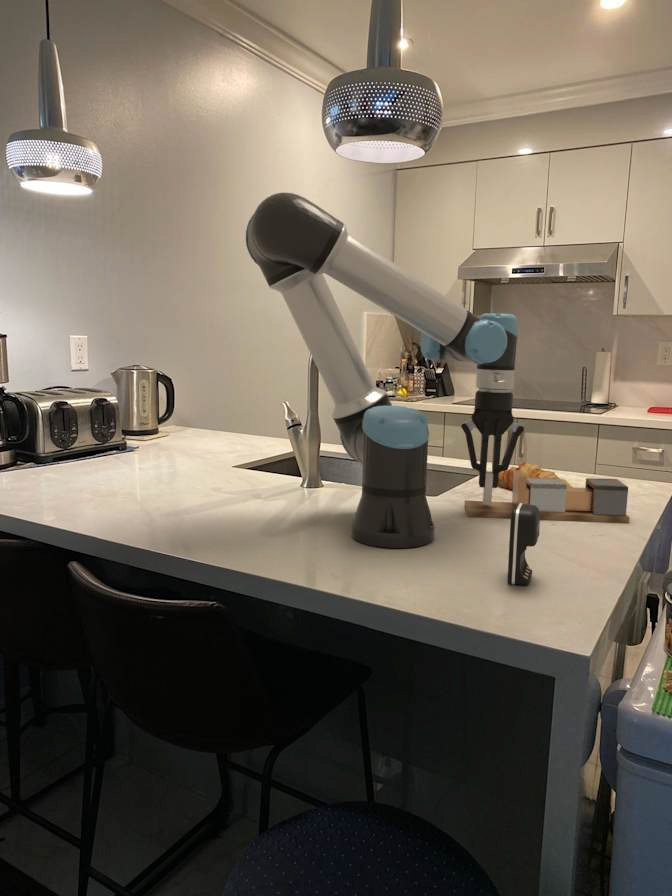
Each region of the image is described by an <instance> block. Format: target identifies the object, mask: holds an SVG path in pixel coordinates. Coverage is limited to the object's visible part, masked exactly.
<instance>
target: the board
mask: <svg viewBox="0 0 672 896" xmlns="http://www.w3.org/2000/svg"><path fill="white" fill-rule="evenodd" d="M513 508H514V504H513V503H512V501H491V504H484V503H483V500H464V509H465V511H466V515H467V517H470V518H471V517H472V518H495V519H511V514H512V510H513ZM543 520H544V521H546V520H547V521H565V522H566V521H567V522H594V523H595V522H596V523H616V524H617V523H619V524H629V523H630V516H629V515H628V514H626V516H607V515H593V514H592V511H571V510H565V513H545V512H540V521H543Z"/></svg>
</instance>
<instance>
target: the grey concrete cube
mask: <svg viewBox="0 0 672 896" xmlns="http://www.w3.org/2000/svg"><path fill="white" fill-rule="evenodd" d="M561 479H562V478H560V479H553V478H526V486H530V502H529V505H535V506H537V508H538V509H539V512H545V513H565V504H566V489H567V485H566V484H565V483H564V482H563V481H562V480H561Z"/></svg>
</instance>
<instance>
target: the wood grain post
mask: <svg viewBox="0 0 672 896" xmlns="http://www.w3.org/2000/svg"><path fill="white" fill-rule="evenodd" d="M593 494H594V488H585V487H576V486H575V487H574V486H572V487H567V489H566V504H565V510H571V511H592V507H593ZM511 497H512V499H511V502H512V503H513V504H514V506H515V504H517V503H519V504H520V503H523V504H529V502H530V486H526V476H525V475H524V473H523V472H522V471H521V470H514V477H513V490H512V496H511Z"/></svg>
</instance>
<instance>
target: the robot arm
mask: <svg viewBox="0 0 672 896" xmlns="http://www.w3.org/2000/svg"><path fill="white" fill-rule="evenodd" d="M245 243H246V244H245V246H246V250H247V251H248V254H249V256H250V258H251V259H252V260H253V261H254V263H255V264H257V266H258V267H259V268H260V271H261V274H262V275H263V277H264V278H265V280H266V283H267V285H268V287H269V289H270V290H271V289H272V290H275V291H276V292H279V293H280V294H281V295H282V297H283V299H284V301H285V303H286V306H287V308H288V310H289V312H290V313H291V316H292V318H293V320H294V322H295V325H296V327H297V328H298V331H299V333H300V334H301V336H302V338H303V340H304V344H305V345H306V348H307V349H308V351H309V353H310V355H311V358H312V360H313V362H314V364H315V366H316V367H317V370H318V372H319V374H320V377H321V378H322V380H323V382H324V384H325V387H326V388H327V391H328V393H329V395H330V398H331V399H332V401H333V403H334V408H333V412H332V414H331V415H332V419H333V421H334V423H335V425H336V427H337V429H338V431H339V437H340V442H341V444H342V447H343V449H344V450H345V451H346V453H347V454H348V456H349V457H350V458H351V459H353V460H355V461H356V462H358V463H360V464H361V465H362V469H361V470H362V473H361V474H362V477H361V484H362V485H361V496H360V500H359V501H358V506H357V509H356V510H355V511H356V512H355V516H354V518H353V520H352V523H351V537H352V539H354V540H356V541H357V542H359V543H361V544H365V545H368V546H373V547H379V548H387V549H406V548H408V549H409V548H417V547H421V546H425V545H428V544H430V543H431V542H433V541H434V539H435V524H434V521H433V518H432V513H431V510H430V506H429V504H428V499H427V476H428V448H429V446H428V445H429V438H430V431H429V420H428V417H427V416H426V414H425V413H424V412H422V411H420V410H418V409H416V408H412V407H406V406H401V405H392V402H391V399H390V398H389V395H388V393H387V392H386V390H385V389H382V388H380V387H377V386H376V385H375V384H374V382H373V380H372V377H371V375H370V373H369V371H368V369H367V367H366V364H365V363H364V360H363V358H362V356H361V353H360V352H359V349H358V347H357V344H356V342H355V341H354V338H353V336H352V335H351V333H350V330H349V327H348V326H347V323H346V322H345V321H346V320H345V319H344V317H343V314H342V312H341V310H340V308H339V306H338V304H337V302H336V300H335V298H334V296H333V293H332V290H331V289H330V287H329V285H328V283H327V280H326V278H325V276H324V274H325V275H327V276H329V277H330V278H332V279H334V280H336V281H337V282H339V283H340V284H342V285H344V286H345V287H347V288H348V289H350V290H352V291H353V292H355V293H357V294H358V295H360V296H362V297H363V298H365V299H366V300H368V301H370V302H372V303H373V304H375V305H377V306H378V307H379V308H381V309H383V310H385V311H386V312H388V313H390V314H391V315H392V316H394V317H396V318H397V319H400V320H401V321H403V322H404V323H406V324H408V325H410V327H413V328H414V329H415V330H418V331H419V332H420V333H421V334H420V340H419V341H420V343H419V345H420V352H421V355H422V356H423V357H424V359H427V360H432V361H433V360H434V361H438V362H439V361H452V362H453V361H454V362H466V363H473V364H476V377H475V378H476V379H475V387H476V388H477V391H476V392H475V396H474V408H473V409H474V410H473V413H472V414H471V418H469V420H467V421H463V422H461V423H460V426H461V429H462V431H463V432H464V434H465V439H466V444H467V445H466V446H467V450H468V455H469V461H470V465H471V468H472V469H473V470H476V471H478V474H479V476H478V485H479V488H483V491H482V492H483V493H482V501H483V503H484V504H491V502H493V499H492V498H493V489H497V488H498V486H499V484H498V475H499V473H500V472H501V471H506V470H509V468H510V464H511V461H512V458H513V455H514V453H515V448H516V446H517V442H518V439H519V437H520V436H521V435H522V433H523V432H524V430H525V427H524V426H523V425H522V424H519V423H517V422H516V421H515V420H514V419H515V418H514V415H513V399H514V394H513V392H512V390H513V389H514V385H515V384H514V383H515V369H516V353H517V345H518V344H517V342H518V338H519V336H518V334H519V333H518V330H519V329H518V326H519V325H518V318H517V316H516V315H515V314H512V313H511V314H510V313H482V314H481V315H480V317H479V316H478V315H476V314H474V313H473V312H471V311H469V310H468V309H466V308H465V307H463V306H462V305H460V304H458V303H457V302H456V301H454V300H452V299H451V298H449V297H447V296H446V295H444V294H443V293H442V292H440V291H438V290H437V289H435V288H433V287H432V286H430V285H428V283H426V282H424V281H423V280H421V279H420V278H418V277H416V276H415V275H413V274H412V273H410V272H408V271H407V270H406V269H404V268H402V267H401V266H399V265H398V264H397V263H395V262H393V261H392V260H389V258H387V257H385V256H383V255H382V254H380V253H379V252H377V250H374V249H373V248H371V247H370V246H368V245H366V244H365V243H364V242H362V241H360V240H359V239H357V238H356V237H354V236H352V235H351V234H349V233H348V230H347V225H346V223H344V222H342V221H341V220H340V219H338V218H336V217H334V216H333V215H332V214H330V213H329V212H327V211H325V209H323V208H322V207H320V206H319V205H316V204H315V203H314V202H313V201H310V200H309V199H307V198H306V197H303V196H302V195H300V194H296V193H293V192H278V193H274V194H271V195H270V196H268V197H266V198H265V199H263V200H262V201H261V202H260V203H259V204H258V205H257V207H256V209H255V211H254V213H253V214H252V216H251V217H250V219H249V220H248V223H247V226H246V230H245ZM473 425H475V427H476V428H477V430H478V432H479V433H480V435H481V437H480V456H479V463H478V460H477V455H476V451H475V450H476V449H475V445H474V439H473V434H472V431H473V429H474V426H473ZM510 427H511V428H510ZM509 428H510V432H511V434H510V437H509V440H508V442H507V446H506V449H505V451H504V455H503V458H502V461H501V450H502V448H501V447H502V446H501V445H502V437H503V435H504V434H505V433H506V431H507V430H508V429H509ZM490 436H493V445H492V447H493V449H492V463H491V470H487V466H488V465H487V464H488V454H489V453H488V452H489V450H488V449H489V440H490ZM500 461H501V463H500Z"/></svg>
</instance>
